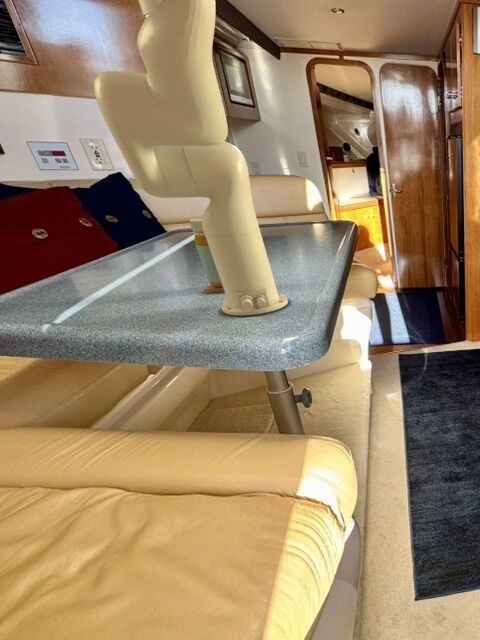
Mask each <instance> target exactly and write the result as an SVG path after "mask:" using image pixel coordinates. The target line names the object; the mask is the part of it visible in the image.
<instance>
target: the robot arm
mask: <svg viewBox="0 0 480 640" xmlns="http://www.w3.org/2000/svg"><path fill="white" fill-rule="evenodd" d="M137 1H138V5H139V6H140V7H139V8H140V10H141V13H142V16H143V19H144V21H143V23H142V25H141V27H140V28H139V29H140V30H139V31H138V35H137V39H136V41H137V42H136V46H137V49H138V52H139V54H140V57H141V59H142V62H143V64H144V67H145V70H146V72H135V71H124V70H123V71H122V70H107V71H103V72H100V73H99V74H97V76H96V77H95V79H94V82H93V89H94V96H95V100H96V103H97V105H98V108H99V111H100V113H101V115H102V118H103V120H104V122H105V124H106V126H107V127H108V130H109V132H110V134H111V135H112V138H113V140H114V142H115V143H116V145H117V147H118V149H119V151H120V153H121V154H122V156H123V159H124V161H125V162H126V164H127V166H128V168H129V170H130V172H131V174H132V176H133V178H134V179H135V181H136V182H137V184H138V185H139V186H140V188H141V189H142V190H143V191H144V192H145V193H147V194H148V195H150V196H152V197H154V198H155V197H156V198H163V199H178V198H179V199H180V198H206V199H209V200H210V201H209V203H208V205H207V206H206V207H205V209H204V211H203V213H202V216H201V218H202V228H203V231H204V234H205V236H206V239H207V242H208V245H209V248H210V251H211V254H212V256H213V259H214V262H215V265H216V268H217V271H218V274H219V277H220V279H221V282H222V285H223V288H224V291H225V292H224V294H225V296H226V299H227V300H226V301H224V302H223V303H222V304H221V305H220V308H221V310H222V312H223V313H224V314H226V315H229V316H255V315H256V316H257V315H262V314H266V313H271V312H275V311H277V310H280V309H282V308H284V307H286V306H287V305H288V303H289V300H288V297H287V296H286V295H285V294H282V293H278V289H277V285H276V281H275V278H274V275H273V271H272V268H271V265H270V261H269V257H268V254H267V250H266V247H265V243H264V239H263V235H262V232H261V229H260V226H259V222H258V218H257V215H256V209H255V205H254V203H253V201H254V200H253V195H252V190H251V182H250V181H251V180H250V174H249V168H248V163H247V161H246V158H245V156H244V154H243V153H242V151H241V150H240V149H239V148H238V147H236V146H235V145H234V144H233V143H230V142H229V141H226V140H227V138H228V135H229V127H228V120H227V115H226V111H225V106H224V102H223V99H222V98H223V97H222V94H221V89H220V86H219V82H218V79H217V74H216V71H215V67H214V61H213V43H214V36H215V27H216V0H137Z"/></svg>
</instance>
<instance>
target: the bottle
mask: <svg viewBox="0 0 480 640" xmlns="http://www.w3.org/2000/svg"><path fill="white" fill-rule="evenodd" d="M188 221H189V224H190V227H191V230H192V231H193V235H194V245H195V247H196V250H197V254H198V256H199V258H200V261H201V264H202V266H203V267H202V268H203V270H204V272H205V274H206V275H205V276H206V277H207V280H208V283H209V284H210V285H212V286H214V287H223V285H222V282H221V279H220V277H219V274H218V271H217V268H216V265H215V262H214V259H213V256H212V254H211V251H210V248H209V245H208V242H207V239H206V236H205V234H204V231H203V228H202V217H200V218H193V219H190V220H188Z"/></svg>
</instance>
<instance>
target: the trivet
mask: <svg viewBox="0 0 480 640" xmlns="http://www.w3.org/2000/svg"><path fill="white" fill-rule="evenodd" d="M203 292H204V294H217V293H219V294H220V293H225V291H224V288H223V287H214V286H212V285H211V284H210V285H207V286H206V287H204V288H203Z"/></svg>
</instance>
